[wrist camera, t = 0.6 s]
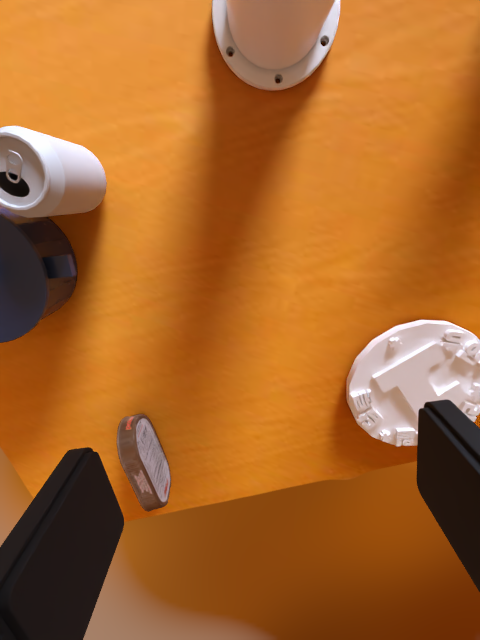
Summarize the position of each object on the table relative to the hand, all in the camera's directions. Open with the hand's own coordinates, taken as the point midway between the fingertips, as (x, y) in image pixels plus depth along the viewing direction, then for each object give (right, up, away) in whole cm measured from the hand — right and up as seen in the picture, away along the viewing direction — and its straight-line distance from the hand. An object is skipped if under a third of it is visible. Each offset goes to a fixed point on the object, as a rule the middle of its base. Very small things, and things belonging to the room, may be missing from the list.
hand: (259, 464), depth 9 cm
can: (-20, +21, +29) cm, 41 cm away
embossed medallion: (+25, -5, +39) cm, 46 cm away
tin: (-14, -15, +43) cm, 48 cm away
